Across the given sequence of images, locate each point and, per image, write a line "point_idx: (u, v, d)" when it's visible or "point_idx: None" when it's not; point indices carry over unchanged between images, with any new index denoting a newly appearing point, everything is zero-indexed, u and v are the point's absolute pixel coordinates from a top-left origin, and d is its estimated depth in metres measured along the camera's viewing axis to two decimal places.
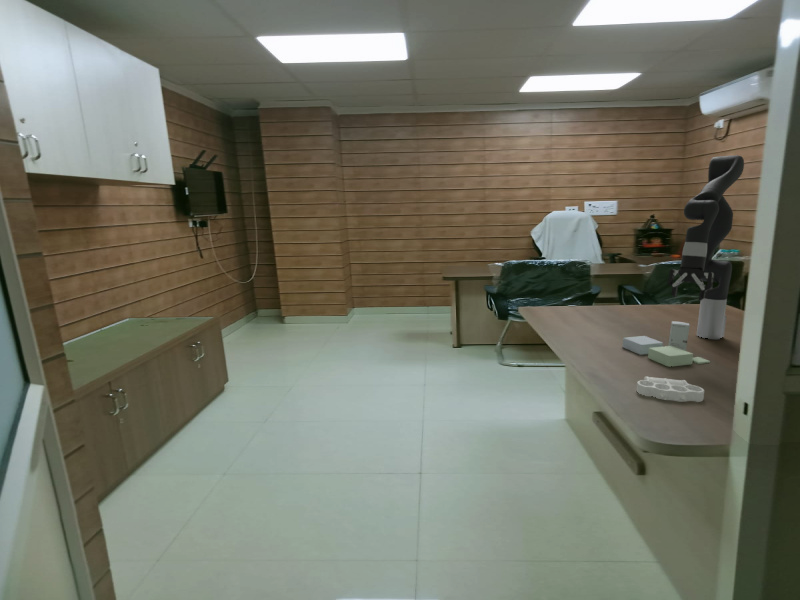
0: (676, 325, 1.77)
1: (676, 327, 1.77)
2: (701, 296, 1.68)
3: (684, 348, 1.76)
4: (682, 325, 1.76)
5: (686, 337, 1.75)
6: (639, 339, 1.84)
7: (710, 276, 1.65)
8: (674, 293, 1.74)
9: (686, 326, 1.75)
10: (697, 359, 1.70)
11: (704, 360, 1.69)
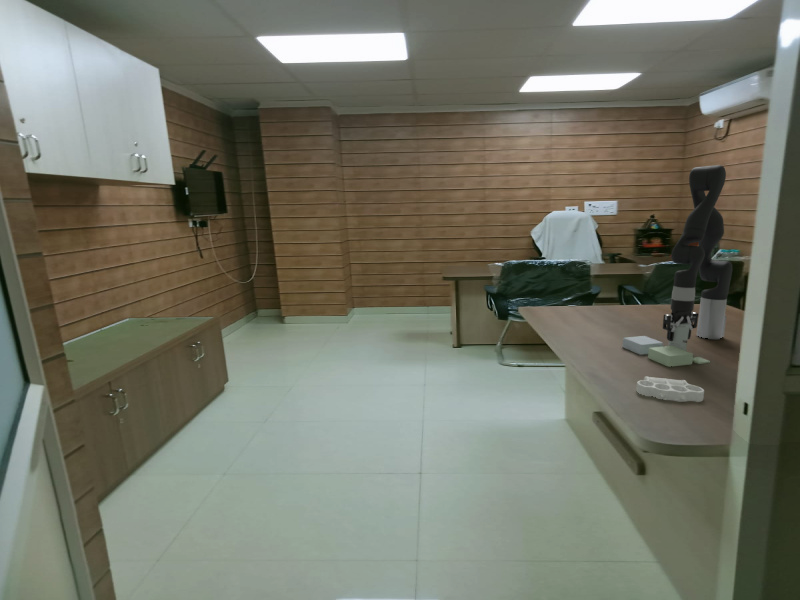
0: None
1: (676, 327, 1.77)
2: (689, 335, 1.79)
3: (684, 348, 1.76)
4: (682, 325, 1.76)
5: (686, 337, 1.75)
6: (639, 339, 1.84)
7: (697, 316, 1.77)
8: (672, 337, 1.77)
9: (686, 326, 1.75)
10: (697, 359, 1.70)
11: (704, 360, 1.69)
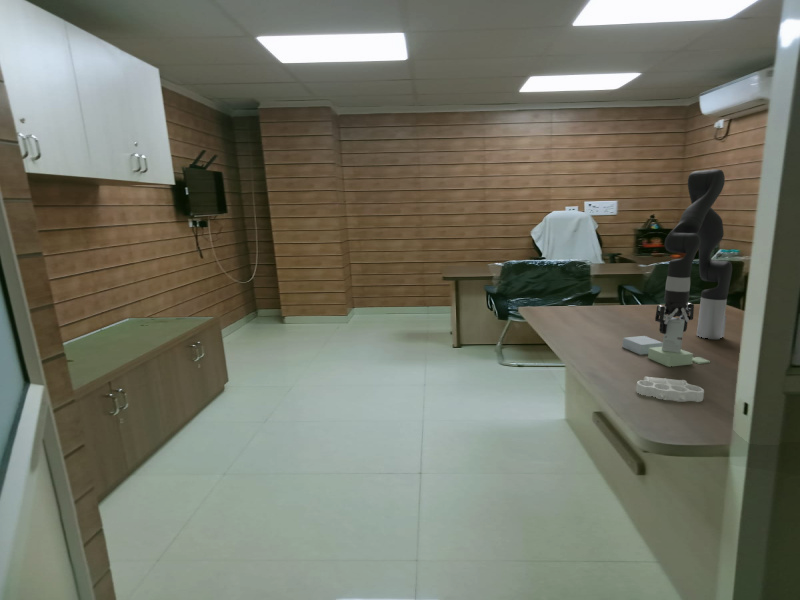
0: (670, 321, 1.67)
1: (670, 324, 1.67)
2: (685, 328, 1.69)
3: (679, 345, 1.67)
4: (677, 321, 1.66)
5: (681, 334, 1.66)
6: (639, 339, 1.84)
7: (692, 307, 1.67)
8: (665, 330, 1.67)
9: (681, 322, 1.65)
10: (697, 359, 1.70)
11: (704, 360, 1.69)
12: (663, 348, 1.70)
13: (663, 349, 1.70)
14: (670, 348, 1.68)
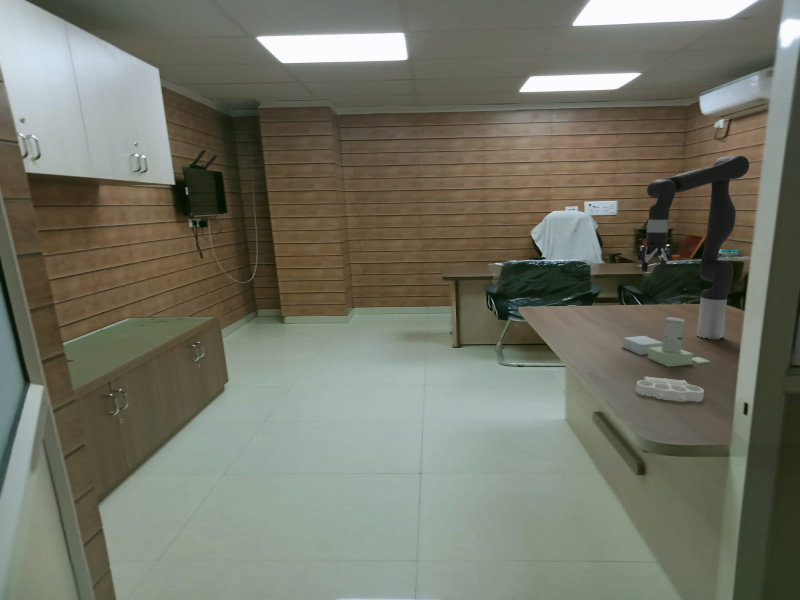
0: (670, 321, 1.67)
1: (670, 324, 1.67)
2: (665, 267, 1.89)
3: (679, 345, 1.67)
4: (677, 321, 1.66)
5: (681, 334, 1.66)
6: (639, 339, 1.84)
7: (671, 248, 1.87)
8: (646, 268, 1.87)
9: (681, 322, 1.65)
10: (697, 359, 1.70)
11: (704, 360, 1.69)
12: (663, 348, 1.70)
13: (663, 349, 1.70)
14: (670, 348, 1.68)
